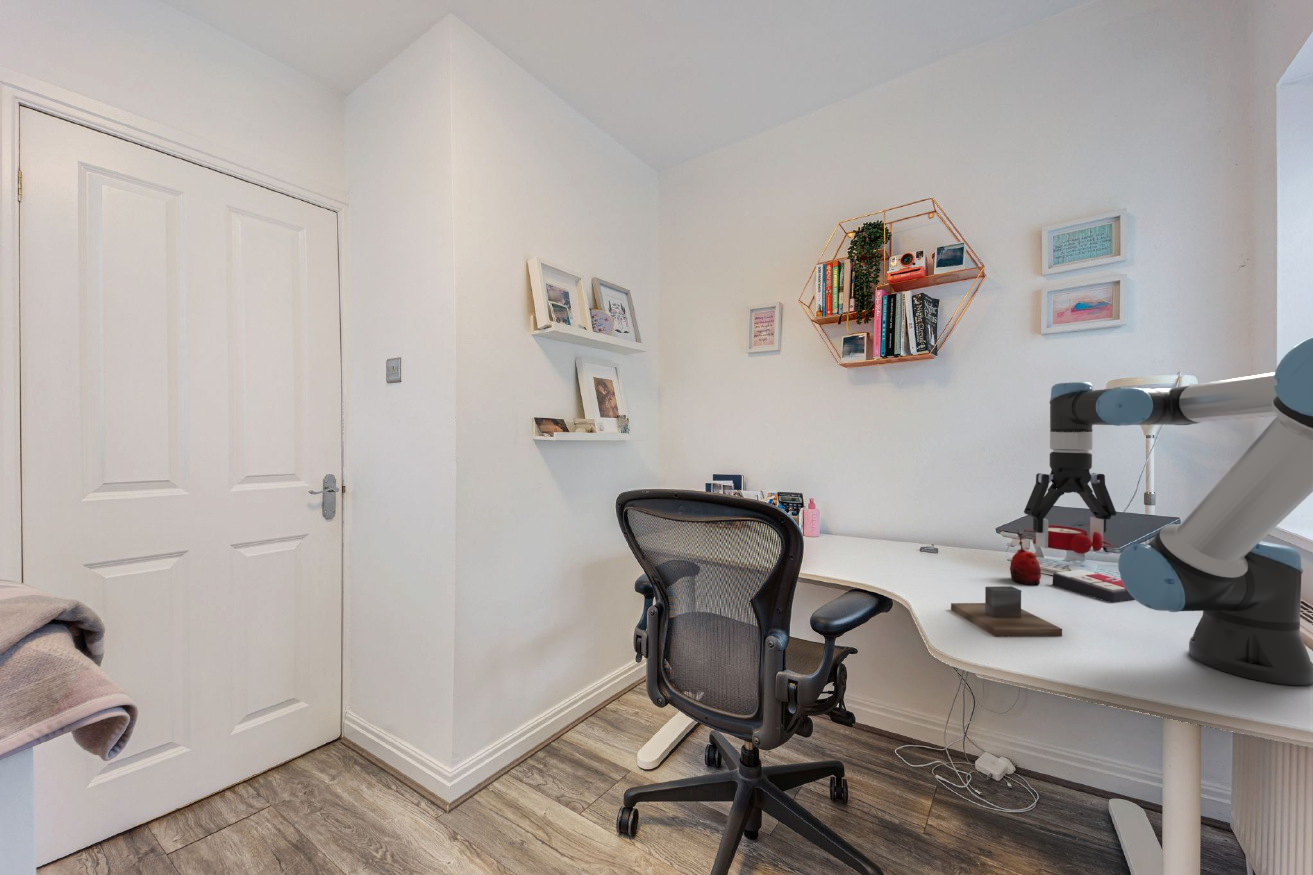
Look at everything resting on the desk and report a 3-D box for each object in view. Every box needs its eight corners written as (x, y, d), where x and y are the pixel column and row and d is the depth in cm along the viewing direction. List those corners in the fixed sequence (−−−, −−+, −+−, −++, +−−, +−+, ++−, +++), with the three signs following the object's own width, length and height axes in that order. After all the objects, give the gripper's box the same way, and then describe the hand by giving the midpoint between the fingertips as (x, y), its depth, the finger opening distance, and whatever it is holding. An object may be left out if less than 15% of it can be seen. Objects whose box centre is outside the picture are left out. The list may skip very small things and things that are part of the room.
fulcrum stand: (1062, 635, 108) (1062, 600, 108) (995, 636, 108) (995, 600, 108) (1009, 608, 124) (1009, 577, 124) (951, 609, 124) (951, 578, 124)
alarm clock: (1045, 524, 128) (1117, 520, 114) (1051, 550, 126) (1125, 549, 113) (1018, 528, 123) (1089, 524, 110) (1023, 554, 122) (1097, 554, 109)
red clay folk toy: (1047, 585, 142) (1048, 531, 142) (1024, 586, 141) (1025, 532, 141) (1024, 577, 150) (1025, 525, 150) (1002, 578, 149) (1003, 526, 149)
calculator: (1113, 589, 128) (1052, 570, 143) (1111, 606, 129) (1051, 585, 143) (1145, 585, 131) (1082, 567, 146) (1143, 602, 131) (1081, 582, 146)
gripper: (1109, 450, 121) (1107, 542, 122) (1006, 450, 121) (1005, 543, 122) (1139, 451, 114) (1137, 550, 114) (1029, 452, 114) (1027, 550, 114)
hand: (1069, 546), depth 118 cm, fingers closed on alarm clock, 12 cm apart
